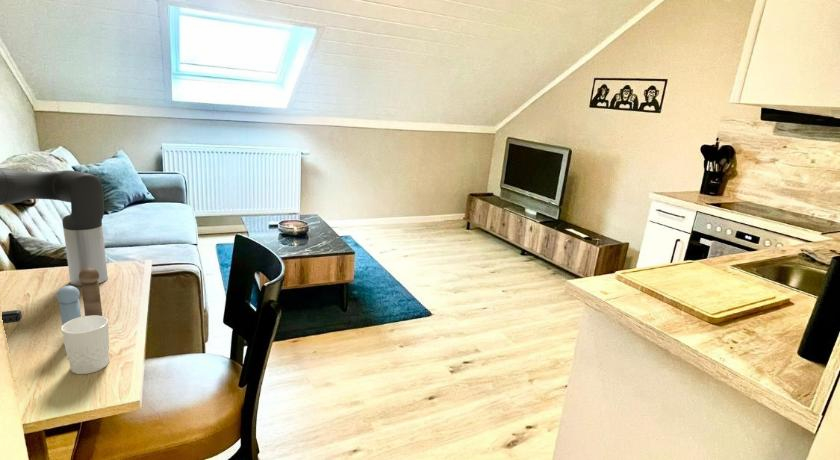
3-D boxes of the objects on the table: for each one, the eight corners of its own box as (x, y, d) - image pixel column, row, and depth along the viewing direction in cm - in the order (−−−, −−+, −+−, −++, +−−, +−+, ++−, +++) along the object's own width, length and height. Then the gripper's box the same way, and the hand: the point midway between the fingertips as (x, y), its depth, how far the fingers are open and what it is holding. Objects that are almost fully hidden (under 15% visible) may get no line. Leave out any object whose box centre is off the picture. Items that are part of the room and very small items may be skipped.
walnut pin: (84, 315, 116) (78, 266, 112) (104, 312, 118) (99, 264, 115) (83, 322, 113) (76, 272, 109) (103, 319, 115) (97, 270, 111)
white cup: (77, 381, 91) (71, 337, 89) (60, 366, 95) (54, 324, 92) (119, 364, 98) (115, 323, 95) (101, 351, 102) (97, 311, 99)
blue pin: (64, 337, 106) (56, 284, 102) (86, 334, 108) (79, 281, 104) (61, 346, 102) (53, 291, 98) (84, 342, 104) (77, 288, 101)
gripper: (-113, 327, 83) (10, 312, 92) (-84, 299, 94) (24, 288, 103) (-104, 363, 85) (16, 345, 94) (-76, 331, 96) (29, 317, 105)
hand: (20, 315), depth 98 cm, fingers closed
